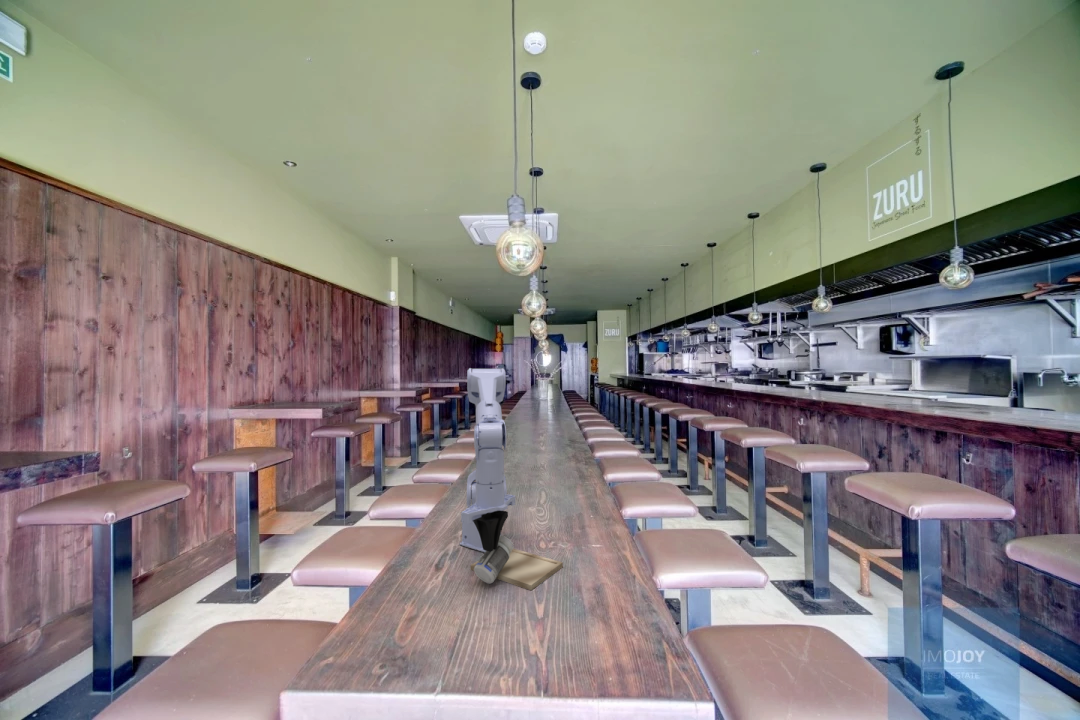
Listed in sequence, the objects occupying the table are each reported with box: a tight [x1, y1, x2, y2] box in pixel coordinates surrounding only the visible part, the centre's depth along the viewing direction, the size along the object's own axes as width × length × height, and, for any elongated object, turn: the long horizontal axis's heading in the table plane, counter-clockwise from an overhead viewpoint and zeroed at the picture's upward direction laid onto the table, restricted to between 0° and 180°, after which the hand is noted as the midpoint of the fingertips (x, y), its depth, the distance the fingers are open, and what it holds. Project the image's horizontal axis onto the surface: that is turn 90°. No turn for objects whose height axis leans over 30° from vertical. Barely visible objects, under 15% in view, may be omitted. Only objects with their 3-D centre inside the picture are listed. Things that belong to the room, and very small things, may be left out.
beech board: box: [469, 548, 564, 591], centre depth 89 cm, size 16×12×1 cm
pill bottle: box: [473, 535, 515, 584], centre depth 84 cm, size 5×5×8 cm
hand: (489, 549), depth 83 cm, fingers closed
